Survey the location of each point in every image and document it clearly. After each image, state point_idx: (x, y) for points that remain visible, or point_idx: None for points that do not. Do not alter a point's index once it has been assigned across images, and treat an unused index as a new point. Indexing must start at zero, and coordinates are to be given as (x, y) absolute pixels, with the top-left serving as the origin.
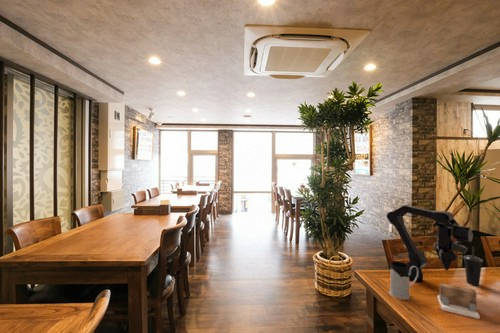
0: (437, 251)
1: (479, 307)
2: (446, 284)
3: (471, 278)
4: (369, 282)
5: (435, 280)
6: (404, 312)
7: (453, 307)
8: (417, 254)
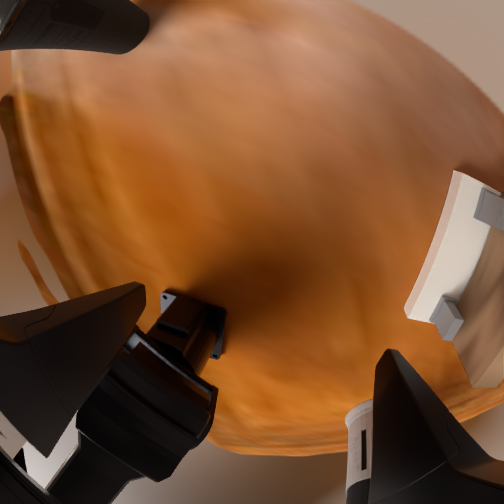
0: (54, 433)
1: (459, 134)
2: (493, 360)
3: (122, 27)
4: (300, 453)
5: (156, 218)
6: (469, 412)
7: None
8: (165, 476)
